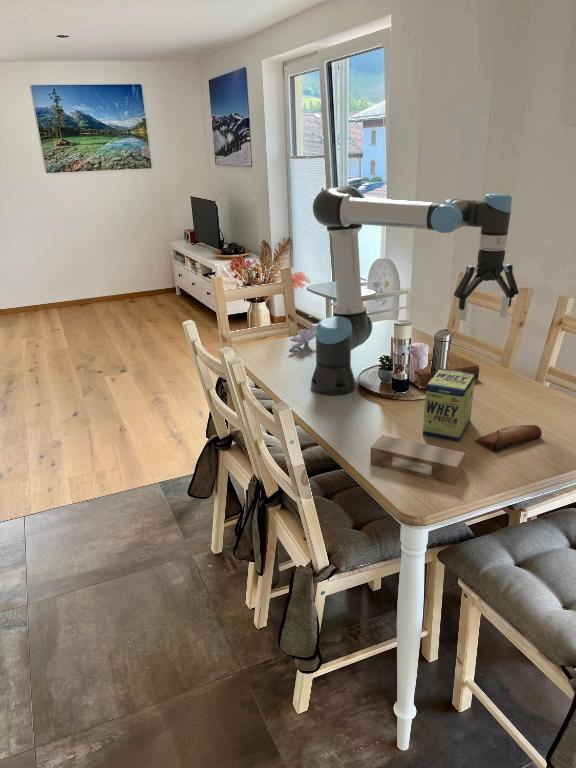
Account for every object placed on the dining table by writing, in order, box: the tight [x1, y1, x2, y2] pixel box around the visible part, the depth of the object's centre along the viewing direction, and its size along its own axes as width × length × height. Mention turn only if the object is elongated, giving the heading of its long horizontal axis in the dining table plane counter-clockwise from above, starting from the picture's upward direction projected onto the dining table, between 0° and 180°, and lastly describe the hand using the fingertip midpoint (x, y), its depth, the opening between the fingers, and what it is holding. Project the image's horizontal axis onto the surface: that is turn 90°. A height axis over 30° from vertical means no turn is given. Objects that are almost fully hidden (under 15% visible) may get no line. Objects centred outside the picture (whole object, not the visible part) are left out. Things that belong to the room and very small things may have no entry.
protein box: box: [422, 368, 476, 443], centre depth 169 cm, size 10×16×16 cm
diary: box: [415, 350, 480, 387], centre depth 210 cm, size 23×19×6 cm
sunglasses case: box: [474, 424, 543, 454], centre depth 163 cm, size 18×7×7 cm
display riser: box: [369, 434, 466, 486], centre depth 150 cm, size 22×8×5 cm, turn 61°
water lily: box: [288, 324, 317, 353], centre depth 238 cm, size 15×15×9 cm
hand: (483, 318), depth 182 cm, fingers open, 13 cm apart
